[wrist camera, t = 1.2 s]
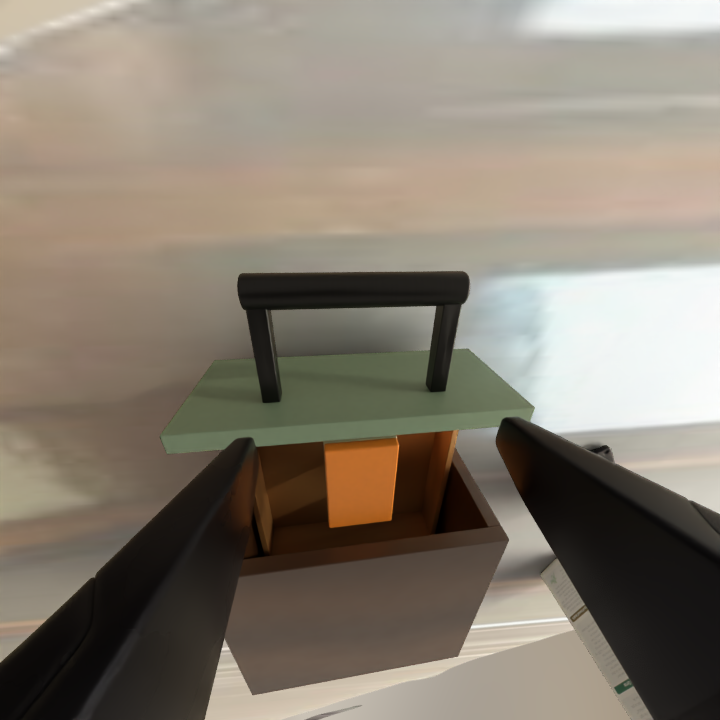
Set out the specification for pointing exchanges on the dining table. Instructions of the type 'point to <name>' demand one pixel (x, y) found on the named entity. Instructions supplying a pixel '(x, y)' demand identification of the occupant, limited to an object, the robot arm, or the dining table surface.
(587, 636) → the syrup box
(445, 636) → the organizer
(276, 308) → the drawer
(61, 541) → the dining table surface
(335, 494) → the snack box
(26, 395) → the dining table surface
